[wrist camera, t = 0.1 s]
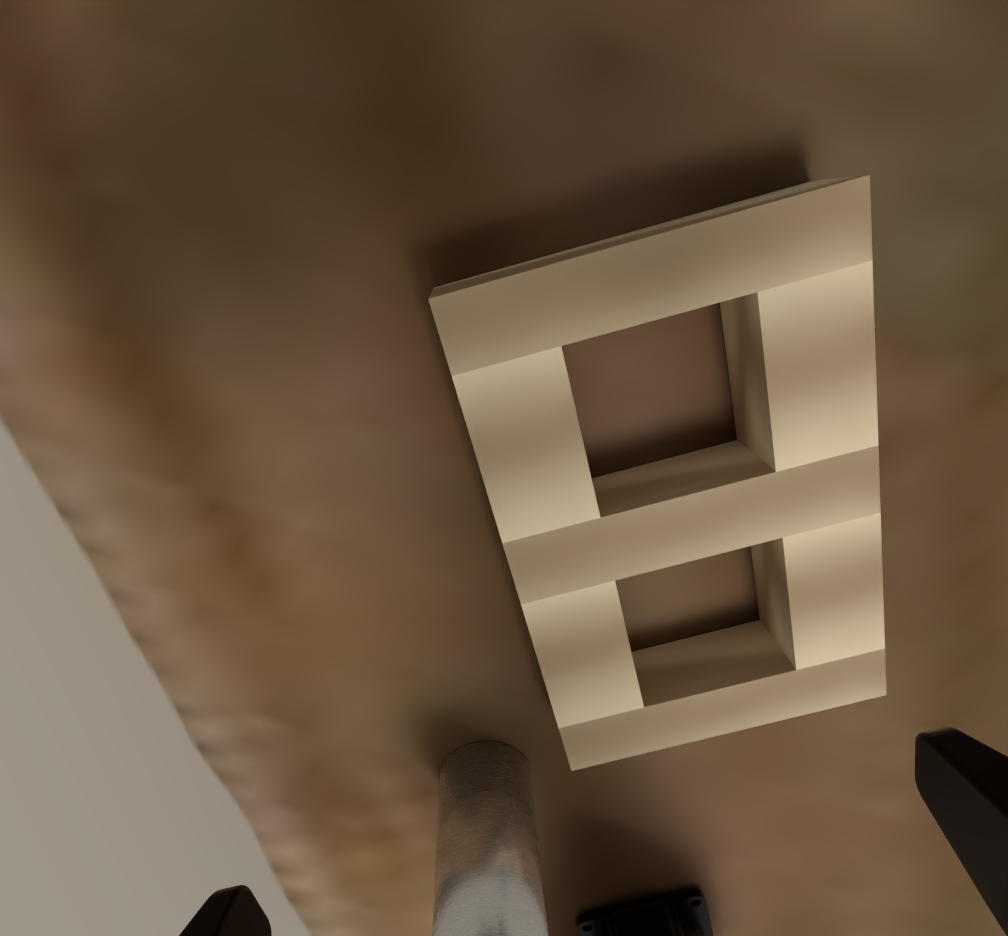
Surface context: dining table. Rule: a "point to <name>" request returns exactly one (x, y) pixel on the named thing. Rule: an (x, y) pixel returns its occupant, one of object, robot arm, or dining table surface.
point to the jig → (690, 467)
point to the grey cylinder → (487, 846)
